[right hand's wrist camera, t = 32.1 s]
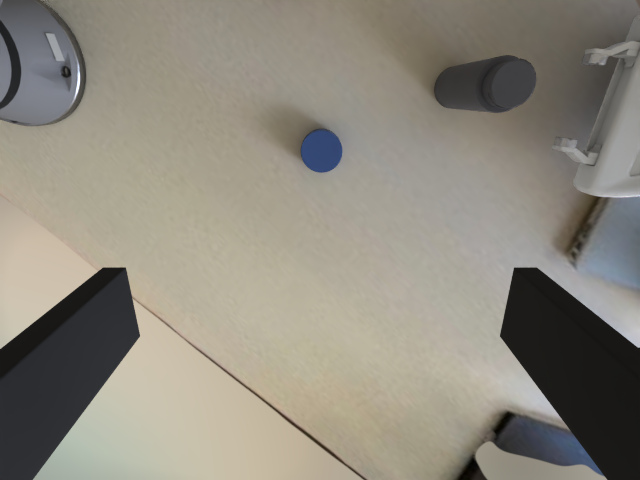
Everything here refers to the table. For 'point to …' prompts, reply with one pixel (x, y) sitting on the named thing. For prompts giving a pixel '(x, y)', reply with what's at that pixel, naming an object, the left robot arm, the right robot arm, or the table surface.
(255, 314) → the table surface
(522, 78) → the jar
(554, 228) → the table surface
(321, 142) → the lid
